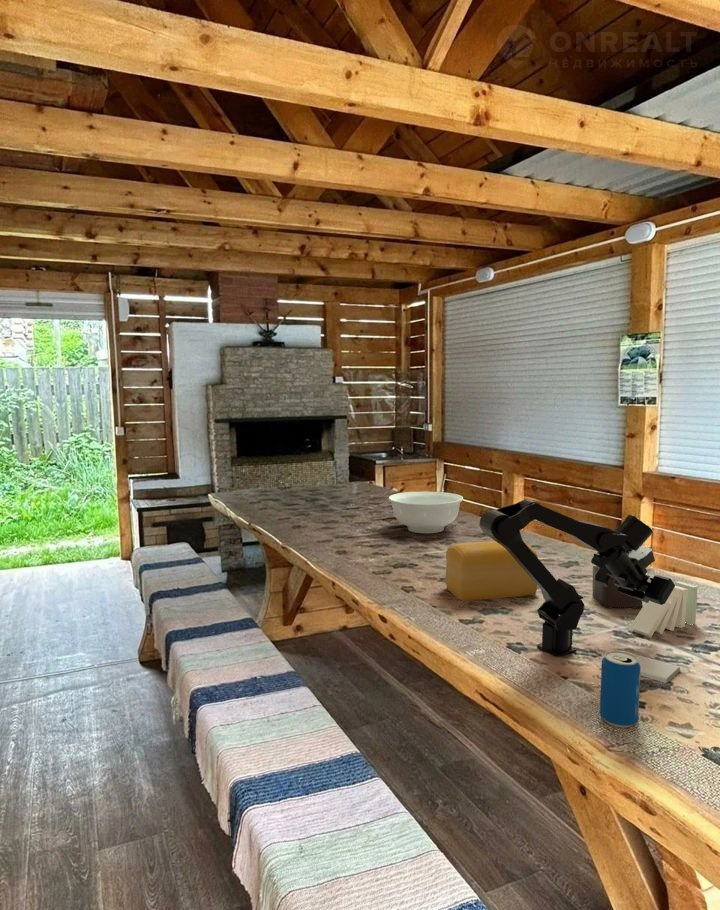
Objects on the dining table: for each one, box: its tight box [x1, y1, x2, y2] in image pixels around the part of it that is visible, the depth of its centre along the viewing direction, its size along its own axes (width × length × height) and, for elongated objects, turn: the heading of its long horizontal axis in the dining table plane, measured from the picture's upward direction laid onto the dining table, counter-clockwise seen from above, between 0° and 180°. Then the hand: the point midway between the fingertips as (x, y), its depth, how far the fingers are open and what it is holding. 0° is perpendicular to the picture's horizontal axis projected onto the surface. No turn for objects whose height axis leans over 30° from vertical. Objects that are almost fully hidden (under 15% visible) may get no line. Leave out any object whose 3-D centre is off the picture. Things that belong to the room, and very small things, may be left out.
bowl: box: [388, 491, 464, 534], centre depth 268 cm, size 32×32×15 cm
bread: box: [445, 540, 539, 601], centre depth 185 cm, size 24×13×15 cm, turn 103°
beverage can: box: [599, 650, 641, 729], centre depth 112 cm, size 6×6×12 cm
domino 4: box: [674, 586, 688, 629], centre depth 158 cm, size 2×5×10 cm, turn 29°
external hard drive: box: [620, 650, 681, 684], centre depth 134 cm, size 2×8×12 cm
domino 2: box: [654, 594, 678, 635], centre depth 155 cm, size 2×5×10 cm
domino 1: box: [630, 600, 670, 639], centre depth 153 cm, size 2×5×10 cm
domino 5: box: [674, 580, 698, 626], centre depth 160 cm, size 2×5×10 cm, turn 29°
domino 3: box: [664, 589, 683, 632], centre depth 157 cm, size 2×5×10 cm, turn 29°
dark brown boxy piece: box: [591, 565, 644, 609], centre depth 177 cm, size 16×11×18 cm
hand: (647, 601), depth 152 cm, fingers closed
